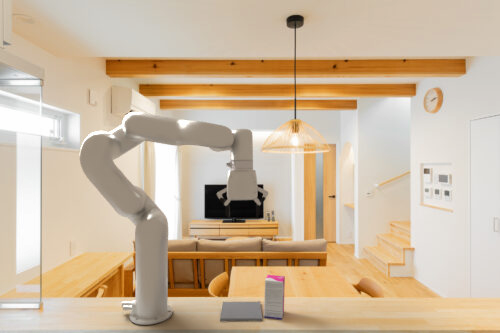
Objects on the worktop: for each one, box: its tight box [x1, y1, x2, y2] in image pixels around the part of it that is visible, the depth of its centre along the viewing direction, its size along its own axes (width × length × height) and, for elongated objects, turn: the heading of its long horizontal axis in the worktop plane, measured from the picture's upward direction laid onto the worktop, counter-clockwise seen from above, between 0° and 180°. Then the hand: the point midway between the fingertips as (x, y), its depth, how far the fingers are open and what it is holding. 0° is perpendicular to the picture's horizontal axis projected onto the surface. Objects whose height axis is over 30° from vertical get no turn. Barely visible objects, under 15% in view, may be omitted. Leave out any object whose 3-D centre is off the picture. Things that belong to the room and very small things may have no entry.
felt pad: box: [219, 301, 263, 322], centre depth 98 cm, size 12×12×1 cm
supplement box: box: [263, 274, 286, 321], centre depth 97 cm, size 6×6×12 cm
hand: (242, 217), depth 104 cm, fingers open, 9 cm apart
